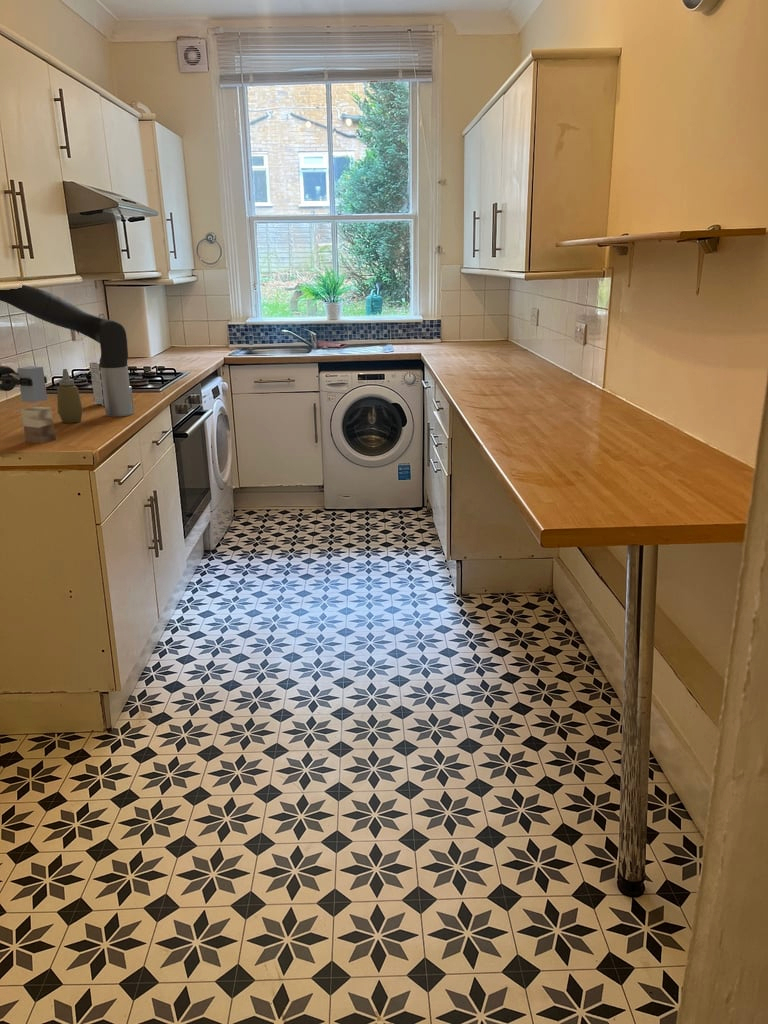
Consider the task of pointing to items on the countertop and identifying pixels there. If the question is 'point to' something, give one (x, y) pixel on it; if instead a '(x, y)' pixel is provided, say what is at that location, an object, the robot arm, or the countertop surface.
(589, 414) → the countertop surface
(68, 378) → the squeeze bottle
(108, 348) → the robot arm
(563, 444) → the countertop surface
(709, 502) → the countertop surface
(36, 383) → the pillar
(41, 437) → the tower base
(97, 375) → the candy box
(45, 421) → the tower top
